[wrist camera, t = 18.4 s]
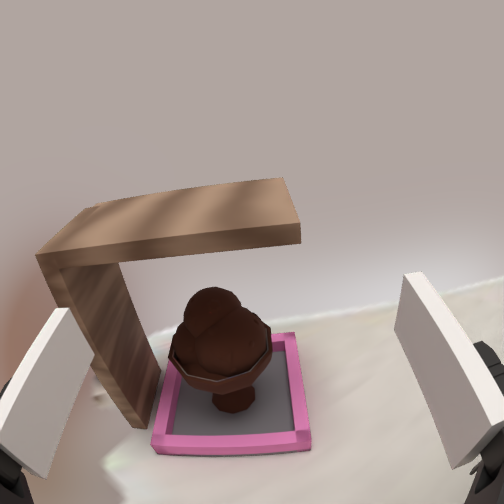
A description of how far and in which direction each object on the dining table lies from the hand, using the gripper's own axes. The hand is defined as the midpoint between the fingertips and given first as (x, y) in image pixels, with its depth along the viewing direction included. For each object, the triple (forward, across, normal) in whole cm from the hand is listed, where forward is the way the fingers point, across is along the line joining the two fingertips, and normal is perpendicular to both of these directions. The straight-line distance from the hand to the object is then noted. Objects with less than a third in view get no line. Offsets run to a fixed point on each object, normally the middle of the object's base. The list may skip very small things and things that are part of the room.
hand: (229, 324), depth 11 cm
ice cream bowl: (+14, -4, -25) cm, 29 cm away
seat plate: (+14, -5, -25) cm, 29 cm away
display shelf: (+15, -7, -25) cm, 30 cm away
